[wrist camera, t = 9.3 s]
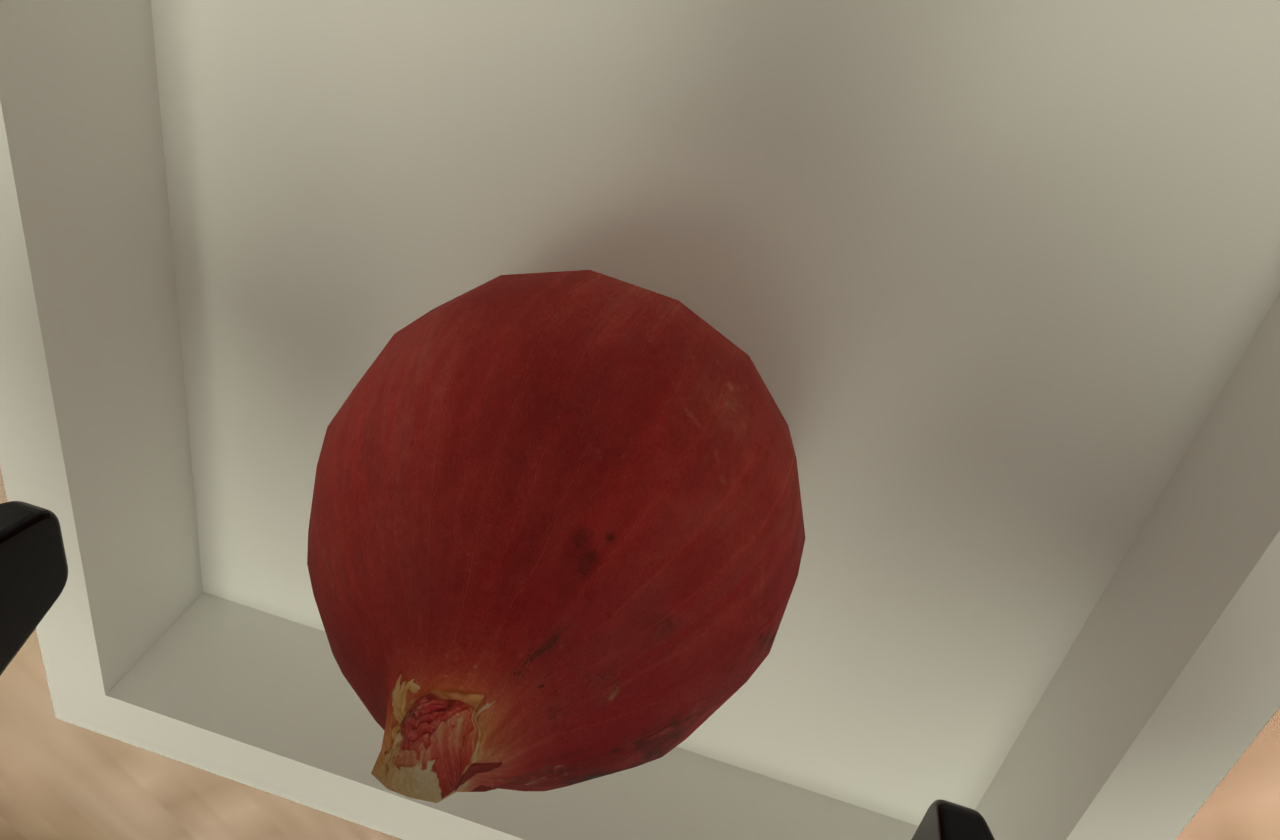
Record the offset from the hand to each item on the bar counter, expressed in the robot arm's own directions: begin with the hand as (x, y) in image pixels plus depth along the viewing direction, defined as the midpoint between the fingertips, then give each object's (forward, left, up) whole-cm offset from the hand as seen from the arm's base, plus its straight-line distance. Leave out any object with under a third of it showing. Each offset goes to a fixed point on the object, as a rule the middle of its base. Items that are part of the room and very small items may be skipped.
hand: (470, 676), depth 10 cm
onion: (0, 0, -7) cm, 7 cm away
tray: (0, 0, -7) cm, 7 cm away
